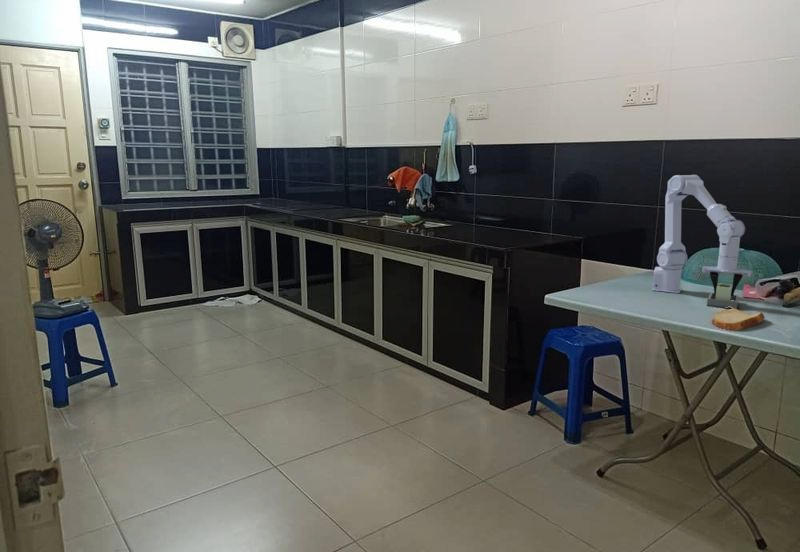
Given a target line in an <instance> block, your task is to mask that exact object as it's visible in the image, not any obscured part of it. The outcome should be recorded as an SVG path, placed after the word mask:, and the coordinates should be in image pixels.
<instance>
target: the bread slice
mask: <svg viewBox="0 0 800 552" xmlns="http://www.w3.org/2000/svg"><path fill="white" fill-rule="evenodd" d="M765 318H766V317H765V315H764V313H763V312H762V311H759V313H748V312H746V311H743V310H740V309H735V308H731V309H729V308H726V309H724V310H720V311H718V312H716V313H714V315H713V317H712V319H711V325H713V326H714V327H716V328H717V327H718V329H720V328H721V330H723V329H725V330H724V331H728V330H729V331H730V332H737V330H738V331H742V330H743V329H744V330H747V329H749V327H750V328H752V326H753V327H755V326H757V325H759V324H761V323H762V322H763V320H764V319H765ZM729 331H728V332H729Z"/></svg>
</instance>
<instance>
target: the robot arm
mask: <svg viewBox="0 0 800 552" xmlns="http://www.w3.org/2000/svg"><path fill="white" fill-rule="evenodd" d="M689 195H691V196H694V197H695V199H696V200H698V202H699V203H700V204H702V206H703V207H704V208H705V209H706V210H707V211H706V216H707V217H708V218H709V219H710V220H711V222H712V223H713V224H714V225H715V227H716V228H717V229H716V233H717V235H718V237H719V240H718V241H719V251H718V260H717V266H706V265H705V266H702V270H701V271H702V273H707V274H708V273H709V277H710V280H711V283H712V286H713V293H714V294H716V288H717V285H718V283H719V282H718V281H719V274H722V275H733V279H732V285H733V287H732V292H731V296H733V295H735V291H736V289H737V287H738V285H739V284H740V282H741V280H742V279H743V277H749V278H750V277H751V276H752V270H751V269H744V268H743V269H742V268H737V267H738V266H737V265H738V258H739V251H740V244H741V243H740V241H741V237H743V235H744V234H745V231H746V227H745V224H744V222H743V221H742V220H739V219H736V218H735V216H733V215H731V213H730V212H729V211H728V210H727V208H728V207H727V206H726V205H724V204H722V203H717V202H716V201H715V199H714V198H713V196H712V195H711V193H710V192H709V191H708V190H707V189H706V187H705V186H704V180H702V179H701V177H700V176H699V175H697V174H689V175H688V174H687V175H686V174H685V175H682V174H681V175H680V174H677V175H673V176H672V177H671V178H670V179H669V180H668V181H667V190H666V194H665V199H664V200H665V203H664V205H665V206H664V207H665V208H664V215H665V216H664V218H665V219H664V243H663V244H662V245H661V246H660V247H659V249H658V254H657V256H656V262H657V264H658V266H655V267H654V270H653V278H652V288H651V290H652V291H656V292H657V291H658V292H664V293H674V294H680V293H681V291H682V287H681V281H682V280H681V278H682V269H683V268H684V265H686V264H687V262H688V254H687V252H686V246H685V245H684V244H683V242H682V203H683V202H682V201H683V200H684V199H685V198H687V197H688V196H689Z"/></svg>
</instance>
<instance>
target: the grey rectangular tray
mask: <svg viewBox="0 0 800 552" xmlns="http://www.w3.org/2000/svg"><path fill="white" fill-rule="evenodd" d="M715 297H716V294H714V292H710V293H709V296H708V297H707V302H706V306H707V307H712V308H713V307H714V308H720V309H721V308H722V309H726V308H725V307H728V306H731V307H733V308H735V309H737V308H738V305H739V299H740V295H739V294H738V295H737V294H734V295H733V296H731V300H734V301H726V300H717V299H715Z"/></svg>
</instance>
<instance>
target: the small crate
mask: <svg viewBox="0 0 800 552" xmlns="http://www.w3.org/2000/svg"><path fill="white" fill-rule="evenodd" d="M732 287H733V283H732V284H729V283H721V282H720V283H719V282H718V284H717V288H716V297H715V299H717V300H726V301H731V292H732Z"/></svg>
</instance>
